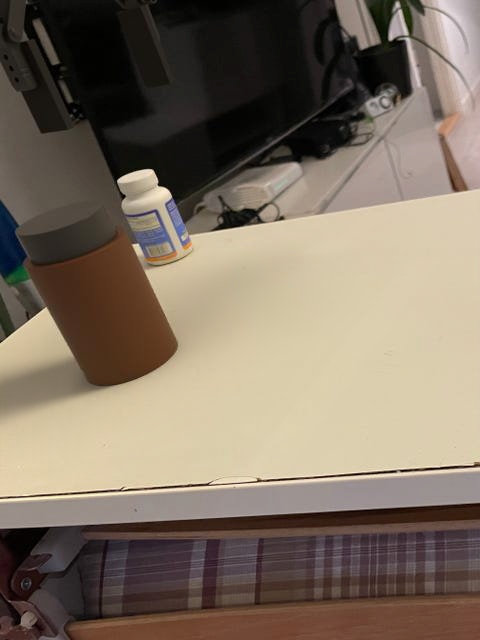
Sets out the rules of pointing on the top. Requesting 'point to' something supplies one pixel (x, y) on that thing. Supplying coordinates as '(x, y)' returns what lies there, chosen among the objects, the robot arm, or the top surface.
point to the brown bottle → (96, 292)
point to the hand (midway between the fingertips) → (113, 106)
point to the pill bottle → (154, 218)
